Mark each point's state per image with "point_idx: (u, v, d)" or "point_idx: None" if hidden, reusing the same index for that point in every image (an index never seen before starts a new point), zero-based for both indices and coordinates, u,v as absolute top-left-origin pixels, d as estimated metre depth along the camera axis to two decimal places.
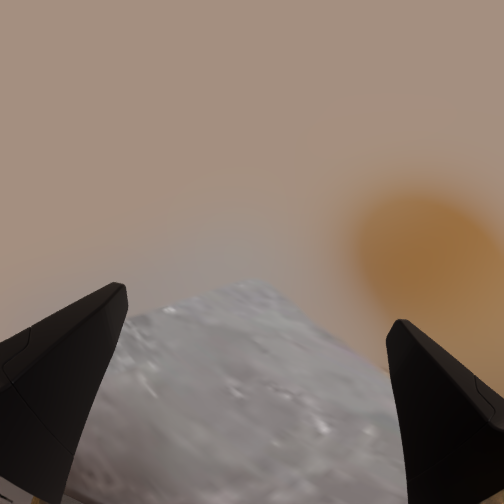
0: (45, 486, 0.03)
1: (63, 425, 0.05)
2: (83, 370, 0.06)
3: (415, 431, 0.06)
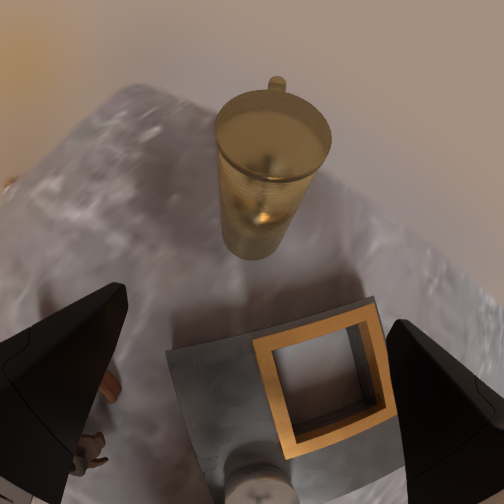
0: (45, 486, 0.03)
1: (63, 425, 0.05)
2: (83, 370, 0.06)
3: (415, 431, 0.06)
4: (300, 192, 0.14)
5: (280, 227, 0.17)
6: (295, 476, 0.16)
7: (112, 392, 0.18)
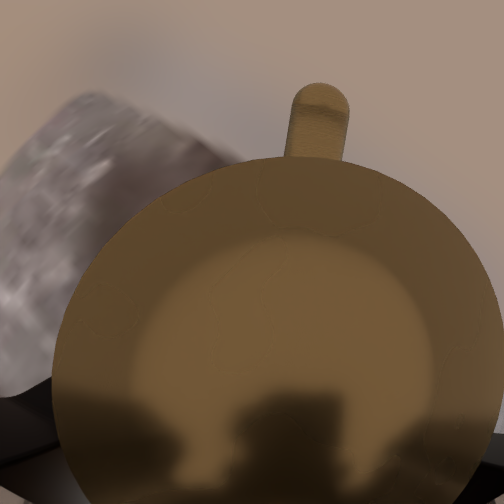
0: None
1: None
2: None
3: None
4: None
5: None
6: None
7: None
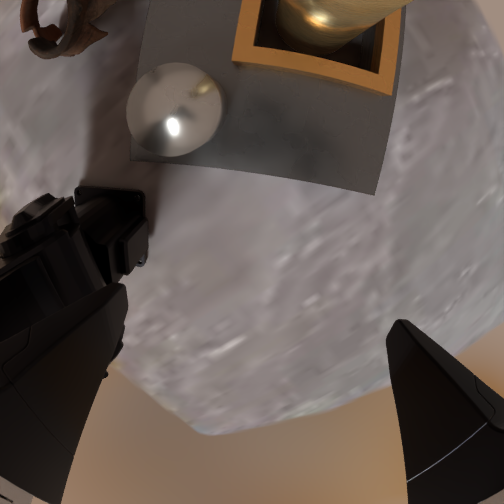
0: (45, 486, 0.03)
1: (63, 425, 0.05)
2: (83, 370, 0.06)
3: (415, 431, 0.06)
4: (364, 3, 0.06)
5: (328, 30, 0.10)
6: (235, 107, 0.15)
7: None
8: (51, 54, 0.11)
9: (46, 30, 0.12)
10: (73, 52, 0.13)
